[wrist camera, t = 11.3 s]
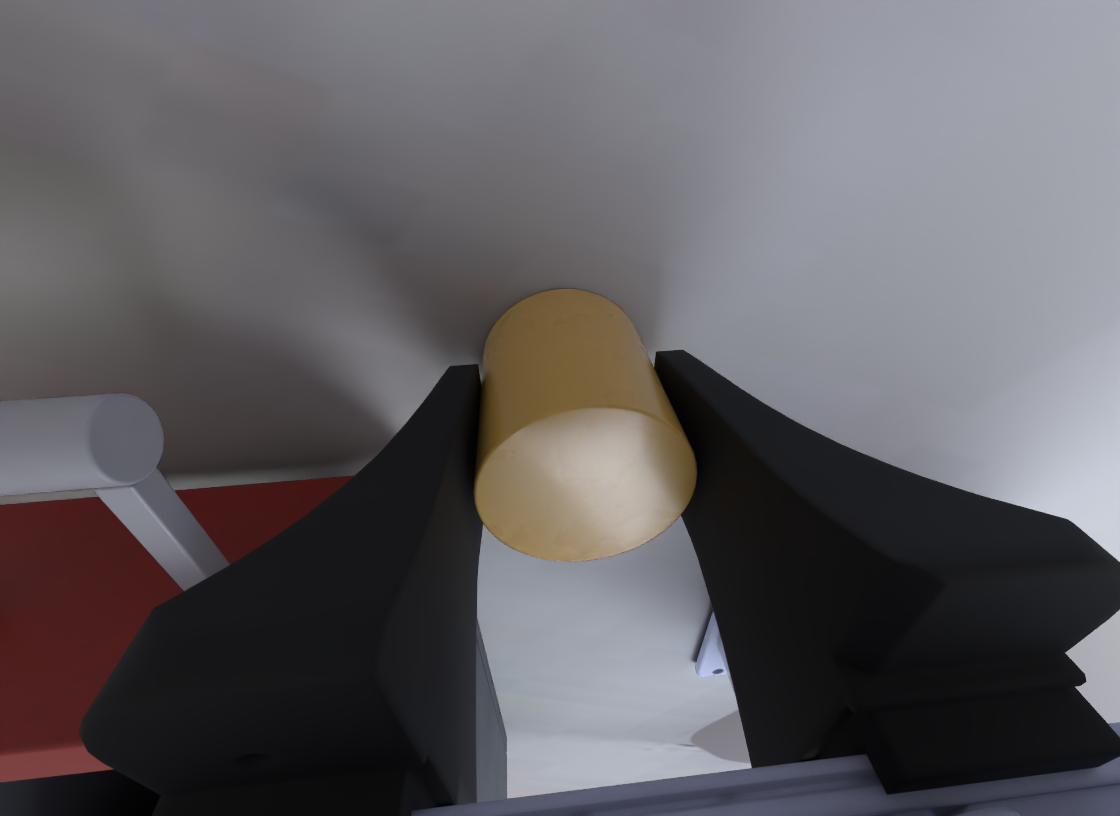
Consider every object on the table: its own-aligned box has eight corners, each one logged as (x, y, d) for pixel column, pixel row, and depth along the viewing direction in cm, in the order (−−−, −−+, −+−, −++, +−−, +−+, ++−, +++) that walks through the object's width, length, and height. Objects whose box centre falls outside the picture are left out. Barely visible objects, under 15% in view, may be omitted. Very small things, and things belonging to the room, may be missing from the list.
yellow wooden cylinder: (647, 282, 11) (716, 395, 7) (634, 418, 13) (682, 552, 10) (472, 293, 11) (456, 415, 7) (492, 429, 13) (488, 571, 9)
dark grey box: (116, 625, 17) (-100, 946, 11) (470, 591, 18) (452, 872, 12) (275, 763, 26) (205, 981, 20) (506, 736, 26) (507, 938, 20)
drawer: (-268, 333, 9) (-1120, 642, 4) (353, 295, 9) (209, 526, 5) (204, 720, 20) (114, 921, 15) (475, 690, 21) (466, 874, 16)
